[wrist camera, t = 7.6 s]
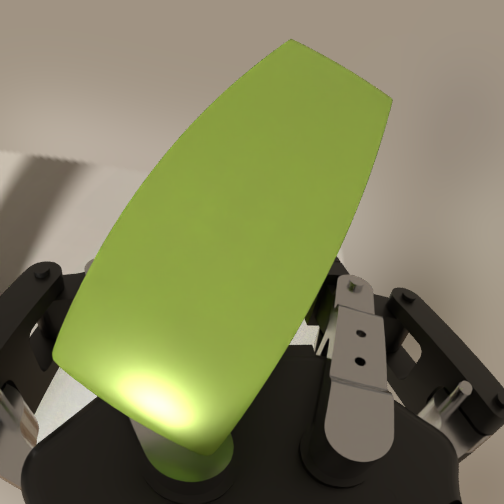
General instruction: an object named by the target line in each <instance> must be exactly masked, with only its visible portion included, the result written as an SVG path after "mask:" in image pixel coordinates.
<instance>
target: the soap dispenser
mask: <svg viewBox="0 0 504 504" xmlns="http://www.w3.org/2000/svg"><path fill="white" fill-rule="evenodd" d="M392 101H393V100H392V99H391V98H390V97H389V96H388V95H386V94H385V93H383V92H382V91H381V90H379V89H378V88H376V87H375V86H373V85H371V84H370V83H369V82H367V81H366V80H364V79H362V78H361V77H359V76H358V75H356V74H354V73H353V72H351V71H350V70H348V69H346V68H345V67H343V66H341V65H339V64H338V63H336V62H334V61H333V60H331V59H329V58H327V57H326V56H324V55H322V54H320V53H318V52H316V51H314V50H313V49H310V48H309V47H306V46H305V45H303V44H301V43H299V42H297V41H295V40H292V39H290V40H288V41H287V42H286V43H284V44H283V45H281V46H280V47H279V48H277V49H276V50H274V51H273V52H272V53H270V54H269V55H268V56H266V57H265V58H264V59H262V60H261V61H260V62H259V63H257V64H256V65H255V66H254V67H252V68H251V69H250V70H249V71H248V72H246V73H245V74H244V75H243V76H242V77H240V78H239V79H238V80H237V81H236V82H235V83H234V84H232V85H231V86H230V87H229V88H228V89H227V90H226V91H225V92H223V93H222V94H221V95H220V96H219V97H218V98H217V99H216V100H215V101H214V102H213V103H212V104H211V105H210V106H209V107H208V108H207V109H206V110H205V111H204V112H203V113H202V114H201V115H200V116H199V117H198V118H197V119H196V120H195V121H194V122H193V123H192V124H191V125H190V126H189V128H188V129H187V130H186V131H185V132H184V133H183V134H182V135H181V136H180V137H179V139H178V140H177V141H176V142H175V143H174V144H173V146H172V147H171V148H170V149H169V150H168V151H167V153H166V154H165V155H164V156H163V157H162V159H161V160H160V161H159V163H158V164H157V165H156V166H155V167H154V169H153V170H152V171H151V173H150V174H149V175H148V177H147V178H146V179H145V181H144V182H143V183H142V185H141V186H140V187H139V189H138V190H137V192H136V193H135V195H134V196H133V197H132V199H131V200H130V202H129V203H128V205H127V206H126V208H125V209H124V211H123V212H122V214H121V215H120V217H119V218H118V220H117V221H116V223H115V225H114V226H113V228H112V230H111V231H110V233H109V234H108V236H107V238H106V239H105V241H104V243H103V245H102V246H101V248H100V250H99V252H98V253H97V255H96V257H95V259H94V261H93V262H92V264H91V266H90V268H89V270H88V272H87V274H86V276H85V278H84V280H83V282H82V283H81V285H80V287H79V290H78V292H77V294H76V296H75V298H74V300H73V302H72V304H71V306H70V308H69V311H68V313H67V315H66V317H65V320H64V322H63V324H62V327H61V329H60V332H59V334H58V337H57V340H56V342H55V345H54V348H53V352H52V357H53V360H54V361H55V363H56V364H57V365H58V366H59V367H60V368H62V369H63V370H64V371H65V372H66V373H68V374H69V375H70V376H71V377H73V378H74V379H75V380H77V381H78V382H79V383H81V384H82V385H83V386H84V387H86V388H87V389H89V390H90V391H91V392H93V393H94V394H95V395H97V396H98V397H100V398H101V399H102V400H104V401H105V402H107V403H108V404H110V405H111V406H113V407H114V408H116V409H117V410H119V411H120V412H122V413H123V414H125V415H127V416H128V417H130V418H132V419H133V420H135V421H136V422H138V423H140V424H142V425H143V426H145V427H147V428H148V429H150V430H152V431H154V432H155V433H157V434H159V435H161V436H163V437H165V438H167V439H168V440H170V441H172V442H174V443H176V444H178V445H180V446H182V447H184V448H186V449H188V450H190V451H193V452H195V453H197V454H200V455H203V456H210V455H212V454H213V453H214V452H215V451H216V450H217V449H218V448H219V446H220V445H221V444H222V443H223V442H224V440H225V439H226V438H227V436H228V435H229V434H230V433H231V431H232V430H233V429H234V427H235V426H236V424H237V423H238V422H239V420H240V419H241V417H242V416H243V415H244V413H245V412H246V410H247V409H248V407H249V406H250V405H251V403H252V402H253V400H254V399H255V397H256V396H257V394H258V393H259V391H260V390H261V388H262V387H263V385H264V384H265V382H266V381H267V379H268V378H269V376H270V374H271V373H272V371H273V370H274V368H275V367H276V365H277V363H278V362H279V360H280V359H281V357H282V355H283V354H284V352H285V350H286V349H287V347H288V346H289V344H290V342H291V341H292V339H293V337H294V335H295V334H296V332H297V330H298V329H299V327H300V325H301V323H302V322H303V320H304V318H305V316H306V314H307V313H308V311H309V309H310V307H311V305H312V303H313V302H314V300H315V298H316V296H317V294H318V292H319V290H320V288H321V286H322V284H323V282H324V280H325V278H326V276H327V274H328V272H329V270H330V268H331V266H332V264H333V262H334V260H335V258H336V256H337V254H338V252H339V249H340V247H341V245H342V243H343V241H344V238H345V236H346V233H347V231H348V229H349V227H350V225H351V222H352V220H353V217H354V215H355V213H356V210H357V207H358V205H359V203H360V200H361V197H362V195H363V192H364V190H365V187H366V184H367V182H368V179H369V176H370V173H371V170H372V167H373V165H374V162H375V159H376V156H377V152H378V150H379V146H380V143H381V140H382V137H383V133H384V130H385V127H386V123H387V119H388V116H389V112H390V109H391V105H392Z"/></svg>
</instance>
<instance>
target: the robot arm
mask: <svg viewBox="0 0 504 504" xmlns="http://www.w3.org/2000/svg"><path fill="white" fill-rule="evenodd" d="M93 261H94V259H92V260H91V261H89V262H88V263H87V264H86V266H85V272H83V273H78V274H68V275H62V269H61V267H60V266H59V265H58V264H57V263H54V262H40V263H36V264H34V265H32V266H30V267H29V268H28V269H27V270H26V271H25V272H23V273H22V274H21V275H20V276H19V277H18V279H17V280H16V281H15V282H14V283H13V284H12V285H11V286H10V287H9V288H8V289H7V290H6V291H5V292H4V293H3V294H2V295H1V296H0V478H1V479H3V480H4V481H6V482H8V483H9V484H11V485H13V486H14V487H16V488H18V489H20V490H21V491H22V495H23V498H24V501H25V504H462V501H461V497H460V491H459V480H458V479H459V478H458V473H459V469H458V468H459V463H460V462H461V461H462V460H463V459H465V458H466V457H467V456H468V455H470V454H471V453H472V452H473V451H475V450H476V449H477V448H478V447H479V446H481V445H482V444H483V443H484V442H485V441H486V440H487V439H489V438H490V437H491V436H492V435H493V434H494V433H495V432H496V431H497V430H498V429H499V428H500V427H502V426H503V425H504V388H503V387H502V385H501V384H500V383H499V382H498V381H497V380H496V378H495V377H494V376H493V375H492V374H491V372H490V371H489V370H488V369H487V368H486V367H485V366H484V365H483V363H482V362H481V361H480V360H479V359H478V358H477V357H476V355H474V353H473V352H472V351H471V350H470V349H469V348H468V347H467V346H466V345H465V343H464V342H463V341H462V340H461V339H460V338H459V337H458V336H457V335H456V334H455V333H454V332H453V331H452V330H451V328H450V327H449V326H448V325H447V324H446V323H445V322H444V321H443V320H442V319H441V318H440V317H439V316H438V315H437V314H436V313H435V312H434V311H433V310H432V309H431V308H430V307H429V306H428V305H427V304H426V303H425V302H424V301H423V300H422V299H421V298H420V297H419V296H418V295H417V294H415V293H414V292H412V291H410V290H408V289H405V288H394V289H393V290H392V292H391V294H390V297H389V298H388V297H383V296H379V295H375V294H373V289H372V287H371V285H370V284H369V283H368V282H367V281H365V280H364V279H362V278H360V277H357V276H354V275H350V274H349V273H348V272H347V270H346V269H345V267H344V266H343V264H342V263H340V260H339V259H338V257H337V256H336V258H335V260H334V262H333V264H332V266H331V268H330V270H329V272H328V274H327V276H326V278H325V280H324V282H323V284H322V286H321V288H320V290H319V292H318V294H317V296H316V298H315V300H314V302H313V303H312V305H311V307H310V309H309V311H308V313H307V314H306V316H305V321H306V323H307V325H319V330H318V332H317V335H316V339H315V343H314V348H313V346H312V345H289V346H288V347H287V349H286V350H285V352H284V354H283V355H282V357H281V359H280V360H279V362H278V363H277V365H276V367H275V368H274V370H273V371H272V373H271V374H270V376H269V378H268V379H267V381H266V382H265V384H264V385H263V387H262V388H261V390H260V391H259V393H258V394H257V396H256V397H255V399H254V400H253V402H252V403H251V405H250V406H249V407H248V409H247V410H246V412H245V413H244V415H243V416H242V417H241V419H240V420H239V422H238V423H237V424H236V426H235V427H234V429H233V430H232V431H231V433H230V434H229V435H228V436H227V438H226V439H225V440H224V442H223V443H222V444H221V445H220V446H219V448H218V449H217V450H216V451H215V452H214V453H213V454H212V455H210V456H203V455H200V454H197V453H195V452H193V451H190V450H188V449H186V448H184V447H182V446H180V445H178V444H176V443H174V442H172V441H170V440H168V439H167V438H165V437H163V436H161V435H159V434H157V433H155V432H154V431H152V430H150V429H148V428H147V427H145V426H143V425H142V424H140V423H138V422H136V421H135V420H133V419H132V418H130V417H128V416H127V415H125V414H123V413H122V412H120V411H119V410H117V409H116V408H114V407H113V406H111V405H110V404H108V403H107V402H105V401H104V400H102V399H101V398H100V397H98V396H97V397H96V398H95V399H94V400H92V401H91V402H90V403H89V404H87V405H86V406H85V407H84V408H82V409H81V410H80V411H79V412H77V413H76V414H75V415H74V416H72V417H71V418H70V419H68V420H67V421H66V422H65V423H63V424H62V425H61V426H60V427H58V428H57V429H56V430H55V431H53V432H52V433H51V434H49V435H48V436H47V437H46V438H44V439H43V440H42V441H40V442H39V443H38V444H37V436H38V431H39V426H38V421H37V419H36V417H35V416H34V414H35V412H36V410H37V408H38V406H39V404H40V402H41V400H42V398H43V396H44V394H45V392H46V390H47V389H48V387H49V385H50V383H51V381H52V379H53V377H54V376H55V374H56V372H57V370H58V368H59V366H58V365H57V364H56V363H55V361H54V360H53V357H52V352H53V348H54V345H55V342H56V340H57V337H58V334H59V332H60V329H61V327H62V324H63V322H64V320H65V317H66V315H67V313H68V311H69V308H70V306H71V304H72V302H73V300H74V298H75V296H76V294H77V292H78V290H79V287H80V285H81V283H82V282H83V280H84V278H85V276H86V274H87V272H88V270H89V268H90V266H91V264H92V262H93ZM36 323H37V324H38V327H37V328H36V329H35V331H34V332H33V333H32V335H31V336H30V333H31V330H32V328H33V327H34V326H35V324H36ZM408 333H410V334H411V335H412V336H413V337H414V339H415V340H416V341H417V342H418V343H419V344H420V346H421V350H422V353H421V357H420V359H419V360H418V362H417V363H415V362H414V361H413V359H412V358H411V357H410V355H409V354H408V353H407V352H406V350H405V349H404V348H403V347H402V346H401V344H402V343H403V341H404V340H405V338H406V336H407V335H408ZM29 337H30V338H29ZM387 381H388V382H389V384H390V385H391V387H392V388H393V390H394V391H395V392H396V394H397V395H398V397H399V398H400V400H401V401H402V403H403V404H404V406H405V407H404V406H403V405H401V404H400V403H398V402H397V401H395V400H394V398H393V395H392V393H391V392H389V391H388V389H387ZM36 444H37V445H36Z"/></svg>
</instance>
